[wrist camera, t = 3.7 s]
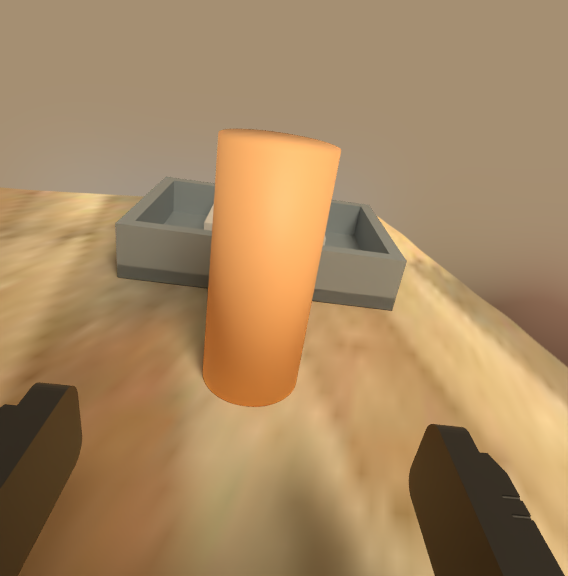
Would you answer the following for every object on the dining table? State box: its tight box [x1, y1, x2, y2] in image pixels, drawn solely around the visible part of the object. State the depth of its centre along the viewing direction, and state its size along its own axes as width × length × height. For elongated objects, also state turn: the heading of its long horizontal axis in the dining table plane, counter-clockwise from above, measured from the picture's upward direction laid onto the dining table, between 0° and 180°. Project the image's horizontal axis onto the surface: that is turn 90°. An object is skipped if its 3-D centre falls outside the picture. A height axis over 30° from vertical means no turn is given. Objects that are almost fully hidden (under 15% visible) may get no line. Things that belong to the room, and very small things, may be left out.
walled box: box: [115, 177, 407, 310], centre depth 36 cm, size 20×14×4 cm
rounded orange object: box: [203, 129, 341, 407], centre depth 20 cm, size 5×5×12 cm
